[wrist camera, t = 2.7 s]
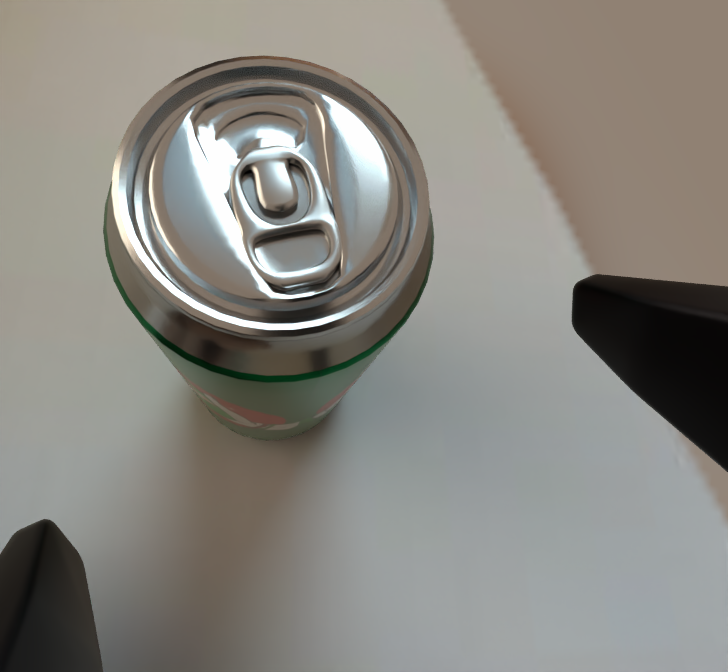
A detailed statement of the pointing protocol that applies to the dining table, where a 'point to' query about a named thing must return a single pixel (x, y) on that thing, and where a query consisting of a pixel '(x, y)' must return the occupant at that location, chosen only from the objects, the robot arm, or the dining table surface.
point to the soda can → (268, 236)
